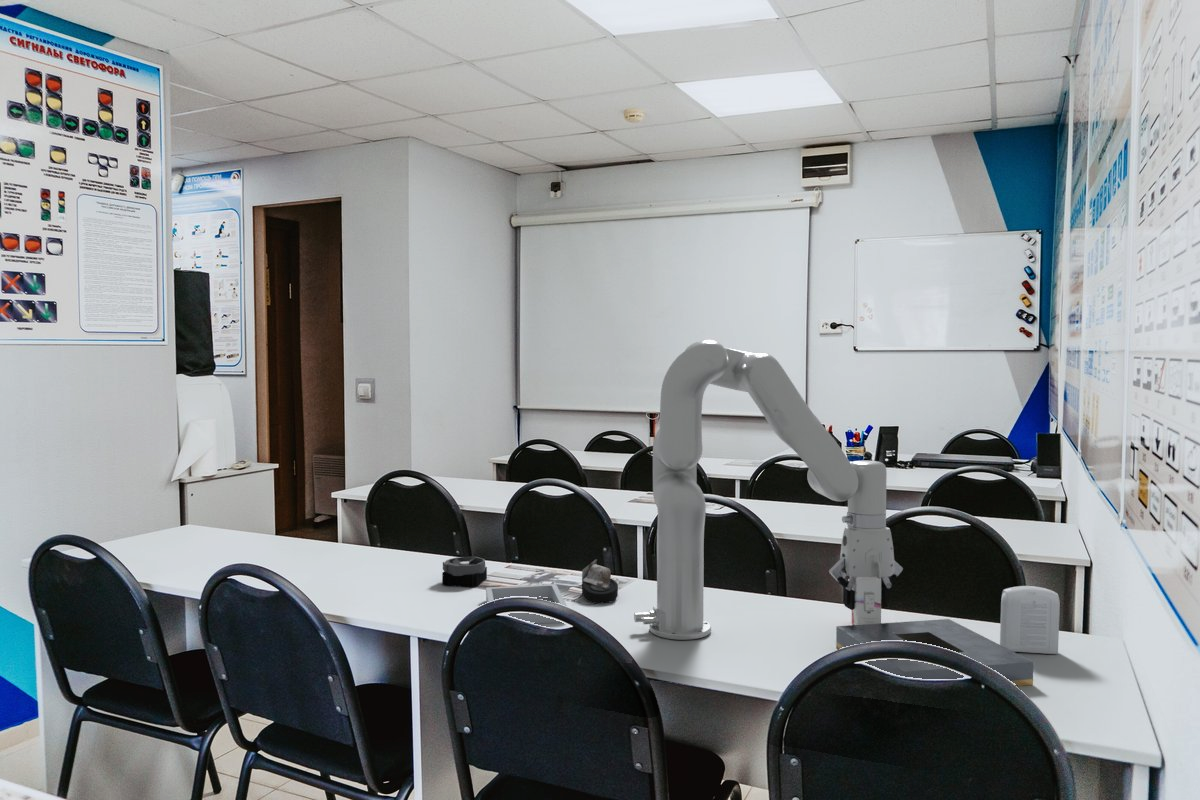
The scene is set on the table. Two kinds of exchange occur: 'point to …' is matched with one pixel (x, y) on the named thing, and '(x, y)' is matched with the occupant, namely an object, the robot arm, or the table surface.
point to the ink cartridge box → (867, 600)
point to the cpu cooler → (464, 572)
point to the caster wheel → (598, 584)
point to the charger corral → (530, 591)
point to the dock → (943, 636)
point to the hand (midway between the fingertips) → (865, 606)
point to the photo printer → (1030, 620)
